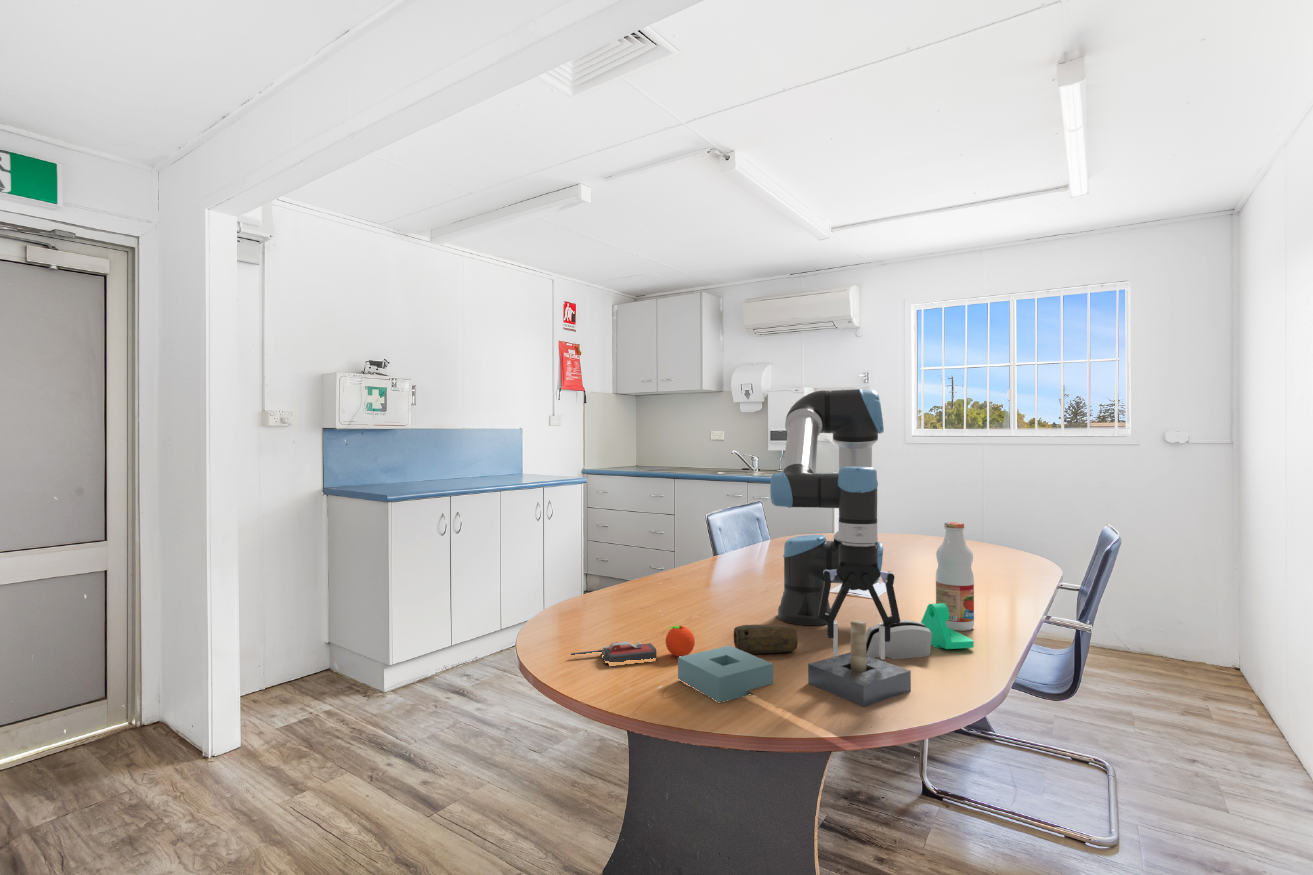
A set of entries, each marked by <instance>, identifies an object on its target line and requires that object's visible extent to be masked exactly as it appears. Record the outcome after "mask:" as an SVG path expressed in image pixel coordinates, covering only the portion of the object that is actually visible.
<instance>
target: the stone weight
mask: <svg viewBox="0 0 1313 875" xmlns="http://www.w3.org/2000/svg"><path fill="white" fill-rule="evenodd" d="M798 640H799V639H798V634H797V630H796V629H795V628H794V627H792V626H788V625H781V624H744V625H739V626H736V627H734V629H733V644H734V648H737V649H739V650H742V651H744V652H746V653H765V654H767V653H768V654H779V653H788V652H793V651H795V650H797V648H798V644H799V641H798Z"/></svg>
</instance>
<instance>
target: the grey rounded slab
mask: <svg viewBox="0 0 1313 875" xmlns="http://www.w3.org/2000/svg"><path fill="white" fill-rule="evenodd" d="M931 639H932V633H931V631H930V630H929V629H928V628H926V626H925V625H924V624H922V623H921V621H916V620H913V619H900V623H895V624H892V625H891V627H890V642H885V658H886V657H887V658H890V659H893V660H902V659H903V660H904V659H911V658H913V659H915V658H923V657H930V654H931V647H932V645H931ZM866 655H867V656H870V657H872V658H875V659H878V658H880V656H879V623H877V624H875V625H873V626H870V627H869V628H867V629H866Z"/></svg>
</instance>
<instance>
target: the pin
mask: <svg viewBox="0 0 1313 875" xmlns="http://www.w3.org/2000/svg"><path fill="white" fill-rule="evenodd" d="M866 633H867V622H866V621H864V620H856V619H855V620H854V619H853V620H851V621H850V652H851V670H853V671H856V672H859V673H862V672H866Z"/></svg>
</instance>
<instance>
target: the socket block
mask: <svg viewBox="0 0 1313 875" xmlns="http://www.w3.org/2000/svg"><path fill="white" fill-rule="evenodd" d="M678 679H680V680H681V681H683V682H685V683H687V684H688V685H690V686H691V687H694V688H695V689H697V690H699V691H700V692H702V693H704V694H706V695H707V696H709V697H710V698H713V699H714V700H716V701H717V702H716V701H715V702H716V703H718V702H723V703H725V702H724V701H726V702H728V701H727V700H730V701H733V700H736V699H735V698H737V699H739V697H740V698H742V696H744V697H748V696H750V695H749V694H751V695H753V693H752V692H750V691H751V690H755V689H759V688H761V687H765V686H769V685H772V684H774V664H773V662H770V661H768V660H765V659H763V658H761V657H758V656H756V655H753V654H749V653H746V652H744V651H742V650H739V649H737V648H735V646H732V645H726V646H721V647H717V648H711V649H708V650H704V651H698V652H695V653H691V654H690V653H689V654H688V655H685V656H681V657H678V656H677V680H678ZM707 696H706V697H707ZM710 698H709V699H710ZM732 699H733V700H732ZM714 700H713V701H714Z"/></svg>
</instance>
